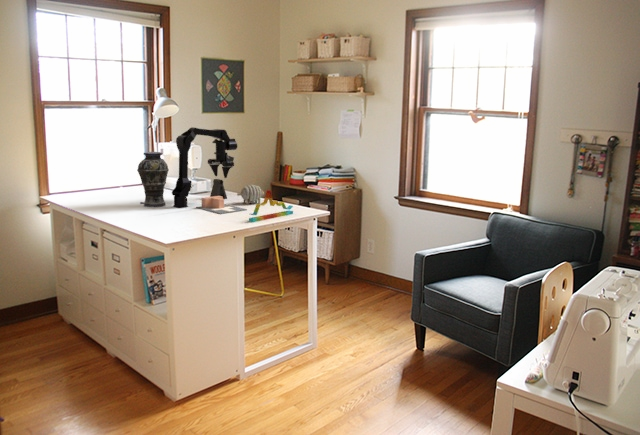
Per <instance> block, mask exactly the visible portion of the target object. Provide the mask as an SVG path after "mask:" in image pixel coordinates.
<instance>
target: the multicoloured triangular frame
mask: <svg viewBox="0 0 640 435" xmlns="http://www.w3.org/2000/svg"><path fill="white" fill-rule="evenodd" d="M264 195H265V196H264V199H263V201H262V202H260V204H259V203H256V204H255V208H254V210H253V213H249V215H252V217H249V218H248V221H249V222H250V223H256V222H262V221H266V220H270V219H275V218H281V217H286V216H290V215H293V214H294V210H291V209H292V208H293V207H294V206H293V205H288V206H286V204H285V202H284V201H279V202H278V200H273V195H272V191H271V190H268V189H267V190H266V192H265V194H264ZM268 202H269V206H271V207H275V205H276V206H277V207H282V209H283V210H284V211H283V210H282V211H279V212H275V213H269V214H263V215H259V216H257V215H258V213H259V210H260V207H261V206H265V205H267V204H268ZM253 216H254V217H253Z"/></svg>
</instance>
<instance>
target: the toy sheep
mask: <svg viewBox="0 0 640 435" xmlns="http://www.w3.org/2000/svg"><path fill="white" fill-rule="evenodd" d="M236 195H237V196H241V198H242V199H243V204H246V205H249V203H256V204H261V198H263V197H265V196H264V195H265V192H264V190H263V189H261V186H259V185H255V184H249V185H246V186H243V187H242V189H241V191H240V192H237V194H236Z"/></svg>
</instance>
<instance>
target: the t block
mask: <svg viewBox="0 0 640 435" xmlns="http://www.w3.org/2000/svg"><path fill="white" fill-rule="evenodd" d="M224 204H225V199H223V196H213V197H210V196H206V197H201V206H202V207H205V208H206V207H215V208H224Z"/></svg>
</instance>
